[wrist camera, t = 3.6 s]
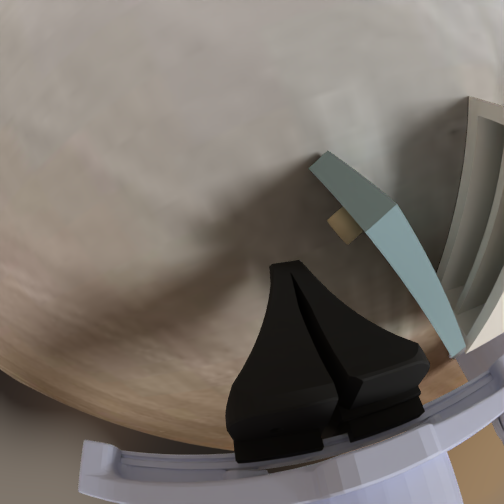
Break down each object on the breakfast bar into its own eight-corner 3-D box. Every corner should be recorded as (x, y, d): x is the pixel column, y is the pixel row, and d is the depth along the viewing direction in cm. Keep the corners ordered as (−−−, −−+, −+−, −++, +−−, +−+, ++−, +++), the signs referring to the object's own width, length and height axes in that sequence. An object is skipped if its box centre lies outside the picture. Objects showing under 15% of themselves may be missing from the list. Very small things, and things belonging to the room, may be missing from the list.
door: (430, 295, 18) (467, 349, 13) (411, 311, 18) (444, 367, 14) (327, 150, 11) (396, 203, 7) (295, 180, 12) (343, 251, 7)
